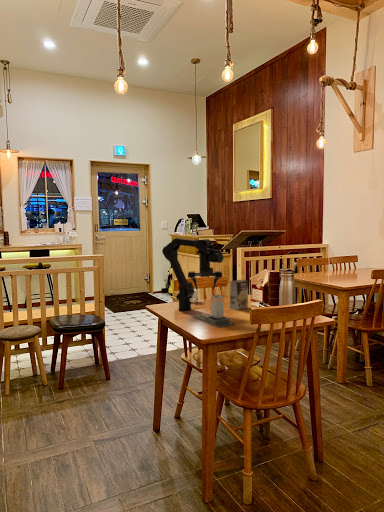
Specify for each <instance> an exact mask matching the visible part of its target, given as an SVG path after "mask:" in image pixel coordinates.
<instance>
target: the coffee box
mask: <svg viewBox="0 0 384 512" xmlns="http://www.w3.org/2000/svg"><path fill="white" fill-rule="evenodd" d="M229 308H230V309H231V310H232V309H233V310H237V311H239V310H242V309H246V308H249V280H245V279H236V280H235V279H234V280H231V281H230V283H229Z"/></svg>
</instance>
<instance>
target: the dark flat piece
mask: <svg viewBox="0 0 384 512" xmlns="http://www.w3.org/2000/svg"><path fill="white" fill-rule="evenodd" d="M192 318H195V319H197V320H199V321H202V322H205V323H207V324H210V325H212V326H215V327H217V328H219V327H220V328H224V327H230V326H234V325H235V323H234V322H231V318H230V317H227V316H224V319H220V320H214V319H211V313H200V314H196V315H193V316H192Z"/></svg>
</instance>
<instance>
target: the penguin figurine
mask: <svg viewBox="0 0 384 512" xmlns="http://www.w3.org/2000/svg"><path fill="white" fill-rule="evenodd" d="M198 299H199V290H198V289H197V290H196V288H194V294H193V296H192V298H190V301H191V302H192V304H195V303H196V302H197V300H198Z"/></svg>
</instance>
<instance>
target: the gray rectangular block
mask: <svg viewBox="0 0 384 512" xmlns="http://www.w3.org/2000/svg"><path fill="white" fill-rule="evenodd" d="M210 301H211V303H210V304H211V305H210V306H211V308H210V310H211V313H210V315H211V319H214V320H220V319H224V314H225V313H224V312H225V310H224V304H225V303H224V301H225V300H224V295H221V294H213V295H211V296H210Z"/></svg>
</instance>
